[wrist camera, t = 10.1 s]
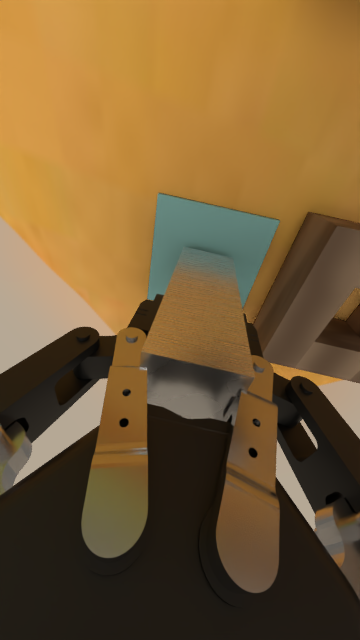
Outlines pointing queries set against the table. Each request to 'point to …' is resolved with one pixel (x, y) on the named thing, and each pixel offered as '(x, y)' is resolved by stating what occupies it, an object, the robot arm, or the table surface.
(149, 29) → the table surface
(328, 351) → the socket block
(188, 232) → the pad
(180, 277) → the steel peg
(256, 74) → the table surface
